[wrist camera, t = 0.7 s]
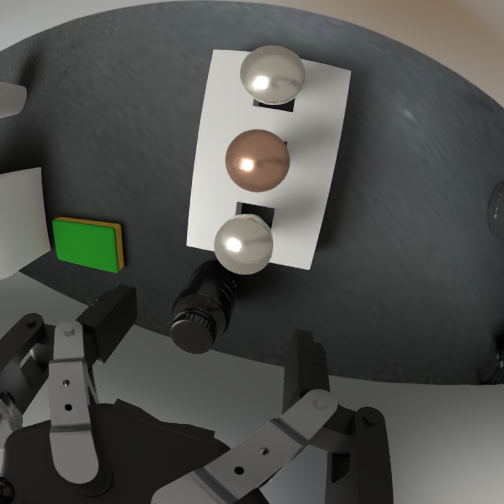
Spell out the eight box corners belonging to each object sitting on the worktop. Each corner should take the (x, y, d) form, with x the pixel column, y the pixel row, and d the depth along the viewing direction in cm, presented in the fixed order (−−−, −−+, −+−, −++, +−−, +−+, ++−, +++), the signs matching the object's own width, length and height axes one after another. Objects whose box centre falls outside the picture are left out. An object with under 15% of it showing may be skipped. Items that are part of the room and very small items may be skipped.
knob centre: (293, 137, 23) (295, 135, 18) (283, 186, 25) (283, 197, 20) (241, 129, 23) (230, 125, 18) (234, 177, 25) (221, 186, 20)
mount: (341, 81, 26) (351, 70, 21) (306, 252, 34) (309, 269, 30) (224, 62, 26) (213, 49, 22) (199, 231, 35) (186, 245, 30)
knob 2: (279, 209, 26) (278, 225, 21) (270, 254, 28) (266, 279, 23) (231, 199, 26) (217, 214, 21) (224, 245, 28) (211, 268, 23)
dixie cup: (29, 114, 30) (-12, 118, 21) (8, 125, 31) (-29, 131, 22) (32, 73, 27) (-7, 71, 18) (11, 87, 28) (-25, 88, 19)
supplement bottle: (203, 307, 39) (177, 363, 28) (185, 267, 37) (148, 316, 26) (247, 298, 38) (232, 357, 27) (230, 254, 36) (206, 305, 25)
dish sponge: (60, 215, 37) (51, 220, 35) (122, 223, 36) (113, 228, 34) (65, 253, 40) (57, 259, 38) (125, 266, 39) (117, 273, 37)
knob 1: (304, 69, 20) (309, 51, 15) (297, 115, 22) (300, 107, 17) (253, 61, 21) (245, 42, 16) (245, 107, 23) (234, 97, 17)
